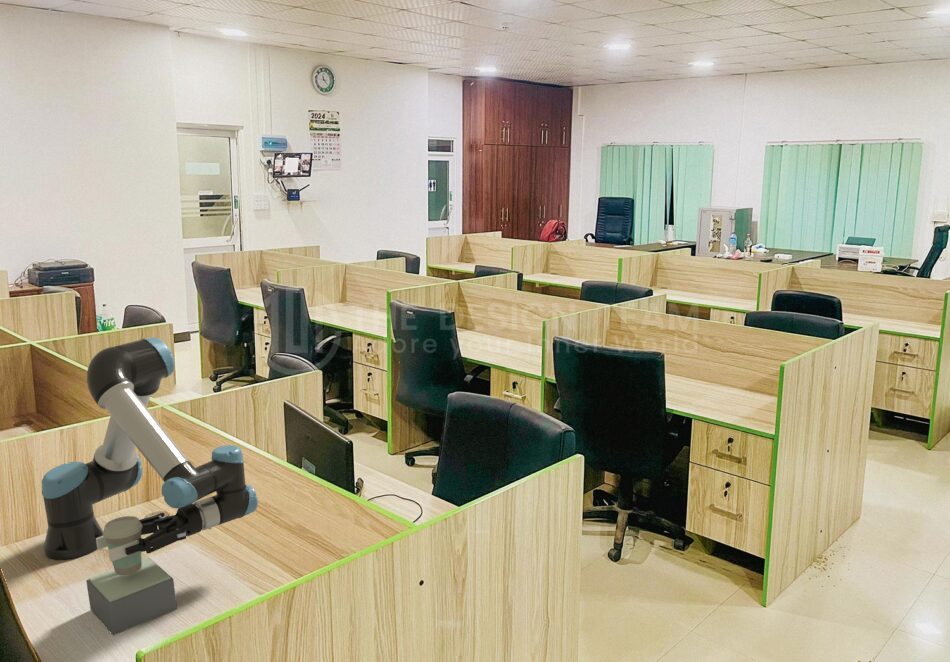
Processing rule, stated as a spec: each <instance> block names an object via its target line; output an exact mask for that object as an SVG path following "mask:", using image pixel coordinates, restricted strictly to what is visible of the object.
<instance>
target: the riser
mask: <svg viewBox="0 0 950 662" xmlns="http://www.w3.org/2000/svg"><path fill="white" fill-rule="evenodd" d="M85 581H86V588H87V594H88V600H89V601H88V602H89V608H90V611H91V612H92V613H93V615H94V616H95V617H96V616H97V617H96V618H97V619H98V620H99V621H100V623H103V624H104V625H103V624H102V625H103V626H104V627H105V628H106V630H108V631H110V632H111V633H110V632H109V633H110V634H111V635H112V636H115V634H116V635H117V634H120V633H123V632H125V631H127V630H130V629H132V628H135V627H136V626H139V625H142V624H144V623H147V622H149V621H151V620H154V619H156V618H158V617H161V616H163V615H165V614H167V613H169V612H174V611H175V610H177V609H178V604H177V597H176V590H175V589H176V588H175V582H174V578H173V577H172V576H171V575H170V574H168V573H167V572H166V571H165V570H164V569H163V568H162V567H161V566H159V564H157V563H156V562H155V561H153V559H152V558H150V557H149V556H145V557H141V568H140V570H138V571H137V572H135V573H132V574H129V575H118V574H116V573H115V570H114V568H112V569H109V570H106V571H104V572H101V573H98V574H96V575H93V576H90V577H88V578H87V579H86V580H85ZM160 615H161V616H160Z"/></svg>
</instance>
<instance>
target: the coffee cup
mask: <svg viewBox="0 0 950 662" xmlns="http://www.w3.org/2000/svg"><path fill="white" fill-rule="evenodd" d="M139 520H140V519H139V518H138V517H137V516H133V515H127V516H120V517H116V518H114V519H111V520H109V521H108V522H106V524H104V529H103V530H102V531H103V536H104V537H105V539H106V542H107V546H108V547H107V549H108V550H109V549H112V548H115V547H118V546H121V545H124V544H127V543H130V542H132V541H135V540H138V543H139V538H142V535H141V529H142V524H141V522H140V521H139ZM141 559H142V552H141V551H139V552H137V553H134V554H131V555H128V556H126V557H123V558H120V559H117V560H114V561H112V562H111V563H112V566H113V569H114V570H115V573H116V574H118V575H129V574H132V573H135V572H137V571H138V570H140V568H141Z"/></svg>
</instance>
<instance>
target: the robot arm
mask: <svg viewBox="0 0 950 662" xmlns="http://www.w3.org/2000/svg"><path fill="white" fill-rule="evenodd" d="M174 370H175V359H174V355H173V353H172V351H171V349H170V348H169V346H168V345H167V344H166V343H165V342H164V341H163V340H162V339H160V338H157V337H148V338H141V339H139V340H134V341H131V342H128V343H122V344H119V345H115V346H111V347H106V348H104V349H101V350H100V351H98V353H96V354H95V355H94V356H93V358H92V359H91V360H90V362H89V364H88V368H87V371H86V384H87V388H88V391H89V393H90V396H91V398H92V400H93V401H94V403H96V404H97V406H98V407H99V408H100V409H103V410H107V411H108V413H109V414H110V415H109V421H108V424H107V429H106V431H105V434H104V435H105V436H104V440H103V444H101V445H100V446H98V447H97V448H96V449H95V452H94V455H93V459H92V460H91V461H90V462H87V463H85V462H83V461H72V462H68V463H63V464H60V465H57V466H55V467H53V468H52V469H50V470H49V471H47V472H46V473H45V474H44V475H43V477H42V479H41V494H42V495H41V496H42V498H43V503H44V510H45V515H46V520H47V521H46V522H47V530H46V535H45V540H44V546H43V549H44V553H45V554H44V555H45V556H46V557H47V558H50V559H52V560H68V559H75V558H79V557H83V556H86V555H88V554H90V553H93V552H95V551H97V550H101V549H102V550H103V549H105V548H108V546H107V542H106V539H105V537H104V536H103V531H104V530H103V529H102V527H101V525H100V524H99V522H98V521H97V519H96V517H95V514H94V513H95V512H94V505H95V504H97V503H99V502H102V501H104V500H107V499H109V498H111V497H114V496H116V495H118V494H121V493H124V492H126V491H129V490H130V489H132V488H134V487H135V486H136V485H138V483H139V482H140V480H141V478H142V475H143V467H142V464H143V463H142V459H140V458H141V457H140V456H139V455H138V454H137V451H135V450H136V448H137V449H138V451H139V452H140V454H142V455H143V457H144V458H145V459H146V461H147V462H148V463H149V465H150V466H151V467H152V468H153V469H154V471H155V473H156V474H158V476H159V477H160V478H161V480H162V481H163V483H162V485H161V495H162V496H163V500H164V502H165V503H166V504H167V506H169V507H170V508H173V509H177V510H176V513H175V514H173V515H167V516H166V515H165V512H160V513H157V514H156V515H153V516H152V515H151V516H149V517H145V518H141V519H139V521H140V522H141V524H142V529H141V536H145V535H148V536H145V538H142V537H141V538H139V543H138V540H135V541H132V542H130V543H127V544H124V545H121V546H118V547H115V548H112V549H108V555H109V561H110V562H111V563H112V561H114V560H117V559H120V558H123V557H126V556H128V555H131V554H134V553H137V552H139V551H141V553H143V552H146V554H148V555H149V554H151V553H154V552H156V551H158V550H160V549H164V548H165V547H167V546H169V545H172V544H174V543H176V542H179V541H183V540H186V539H187V537H190V536H193V535H196V534H198V533H200V532H201V531H206V530H211V529H213V528H214V527H216V526H220V525H222V524H225V523H228V522H232V521H234V520H236V519H241V518H243V517H245V516H248V515H250V514H252V513H254V512H255V511H256V510H257V509H258V505H259V499H258V496H257V492H256V490H255V488H254V487H253V486H251V485H248V484H246V477H245V465H244V464H245V461H244V456H243V455H244V454H243V451H242V449H241V447H239V446H238V445H232V444H229V445H228V444H227V445H226V444H225V445H221V446H218V447H216V448H214V449H213V450H212V452H211V458H210V459H211V460H210V461H208V462H205V463H204V464H201V465H198V466H197V467H195V465H193V464H192V462H191V461H190V460H189V458H188V457H187V456H186V455H185V454H184V452H183V451H182V450H181V449H180V448H179V446H178V445H177V444H176V442H175V441H174V440H173V439H172V437H171V436H170V435H169V434H168V433H167V431H166V430H165V429H164V427H163V426H162V425H161V424H160V423H159V421H158V420H157V419H156V417H155V416H154V415H153V414H152V412H151V411H150V410H149V408H148V405H149V402H150V398H151V396H153V395H155V394H157V392H158V391H159V388H160V385H161V382H162V380H163V379H164V378H165V379H167V378H168V377H170V376H171V375H173V373H174ZM215 492H216V494H215V495H213V496H209V495H212V494H214V493H215ZM208 496H209V497H208ZM206 497H207V498H206ZM149 534H150V535H149Z"/></svg>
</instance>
